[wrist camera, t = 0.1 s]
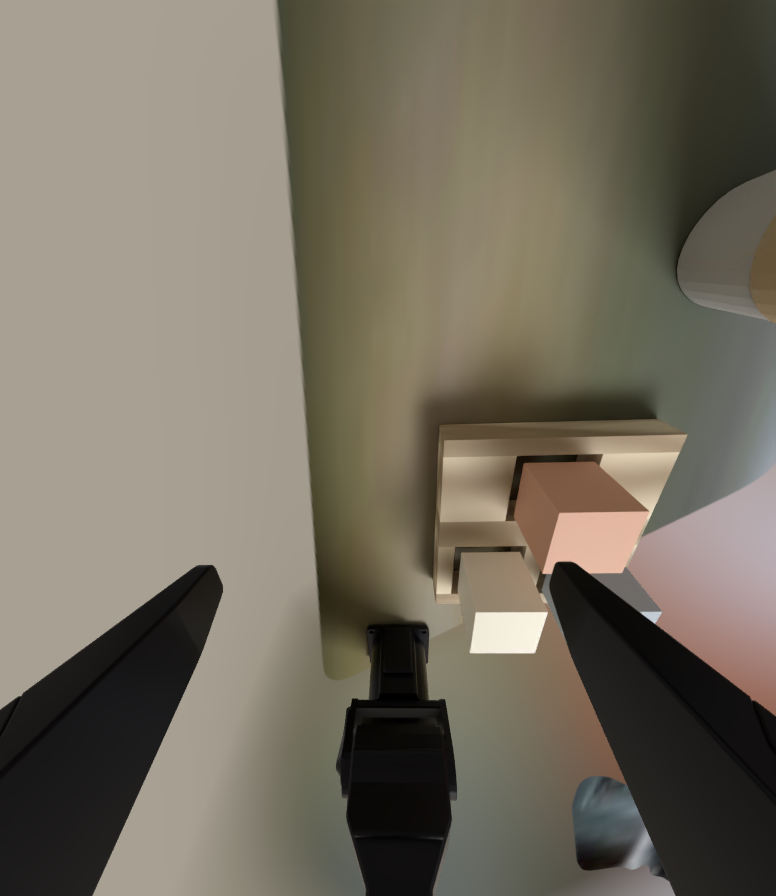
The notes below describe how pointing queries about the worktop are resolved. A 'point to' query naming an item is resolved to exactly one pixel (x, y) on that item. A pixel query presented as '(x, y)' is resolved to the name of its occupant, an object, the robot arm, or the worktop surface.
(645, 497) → the panel
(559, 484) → the salmon pink block
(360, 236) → the worktop surface
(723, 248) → the coffee cup
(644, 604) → the slate-blue button
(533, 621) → the cream button
